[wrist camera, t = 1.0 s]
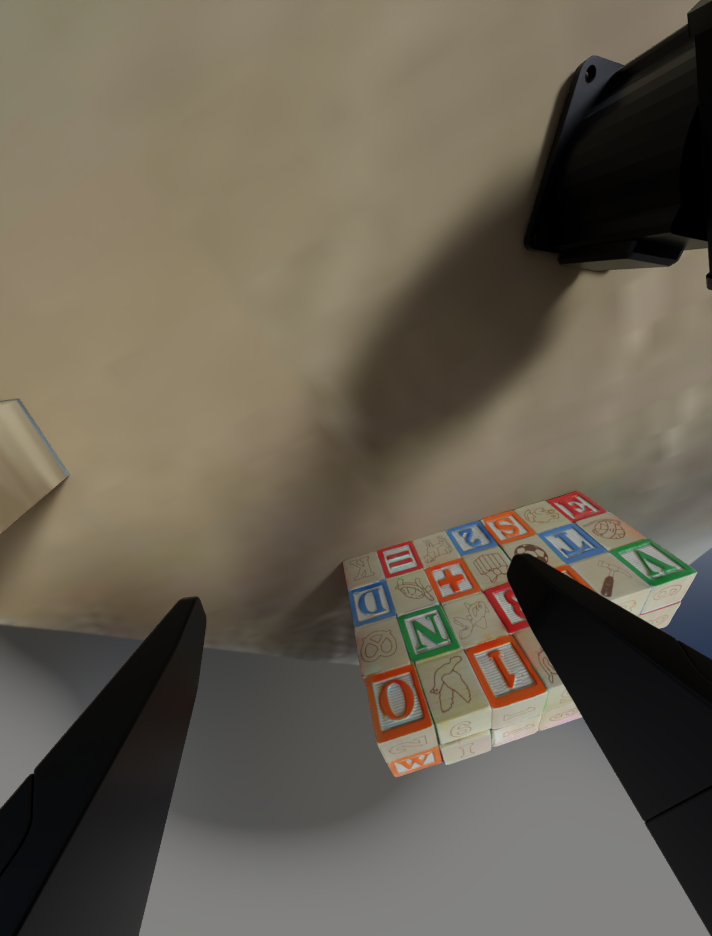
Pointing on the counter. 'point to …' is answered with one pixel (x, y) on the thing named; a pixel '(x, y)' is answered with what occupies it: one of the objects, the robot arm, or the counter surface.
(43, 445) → the beech block
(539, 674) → the stack of blocks
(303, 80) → the counter surface
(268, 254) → the counter surface
